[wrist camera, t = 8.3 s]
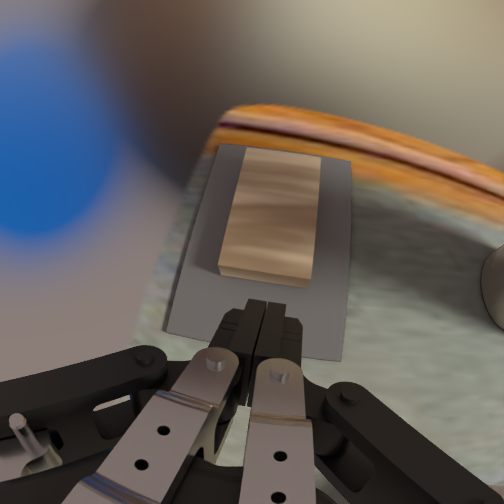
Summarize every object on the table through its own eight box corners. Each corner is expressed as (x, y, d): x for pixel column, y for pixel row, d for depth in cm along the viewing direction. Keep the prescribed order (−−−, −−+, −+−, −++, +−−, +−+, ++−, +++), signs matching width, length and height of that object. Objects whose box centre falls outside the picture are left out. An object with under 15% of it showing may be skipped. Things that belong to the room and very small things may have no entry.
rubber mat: (339, 361, 23) (341, 361, 22) (167, 332, 24) (165, 331, 24) (350, 164, 31) (351, 161, 30) (220, 146, 32) (220, 143, 32)
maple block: (310, 279, 23) (321, 157, 27) (217, 264, 23) (246, 147, 28) (306, 289, 25) (317, 173, 30) (221, 276, 25) (247, 164, 30)
